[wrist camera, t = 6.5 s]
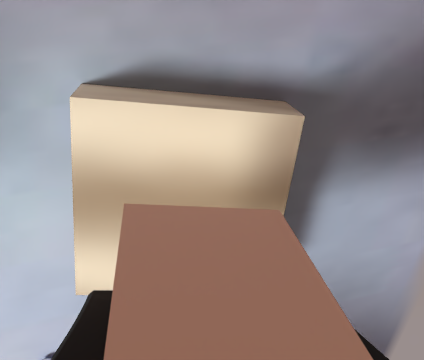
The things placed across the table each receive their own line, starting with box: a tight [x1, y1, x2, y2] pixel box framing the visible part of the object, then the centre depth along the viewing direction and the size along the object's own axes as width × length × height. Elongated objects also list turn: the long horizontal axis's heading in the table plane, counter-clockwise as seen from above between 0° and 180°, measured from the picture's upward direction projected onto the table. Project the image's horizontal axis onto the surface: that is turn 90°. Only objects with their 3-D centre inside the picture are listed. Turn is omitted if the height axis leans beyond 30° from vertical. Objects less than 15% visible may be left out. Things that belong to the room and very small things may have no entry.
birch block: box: [70, 84, 305, 295], centre depth 18 cm, size 9×9×3 cm
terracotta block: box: [104, 203, 373, 360], centre depth 9 cm, size 4×4×6 cm
